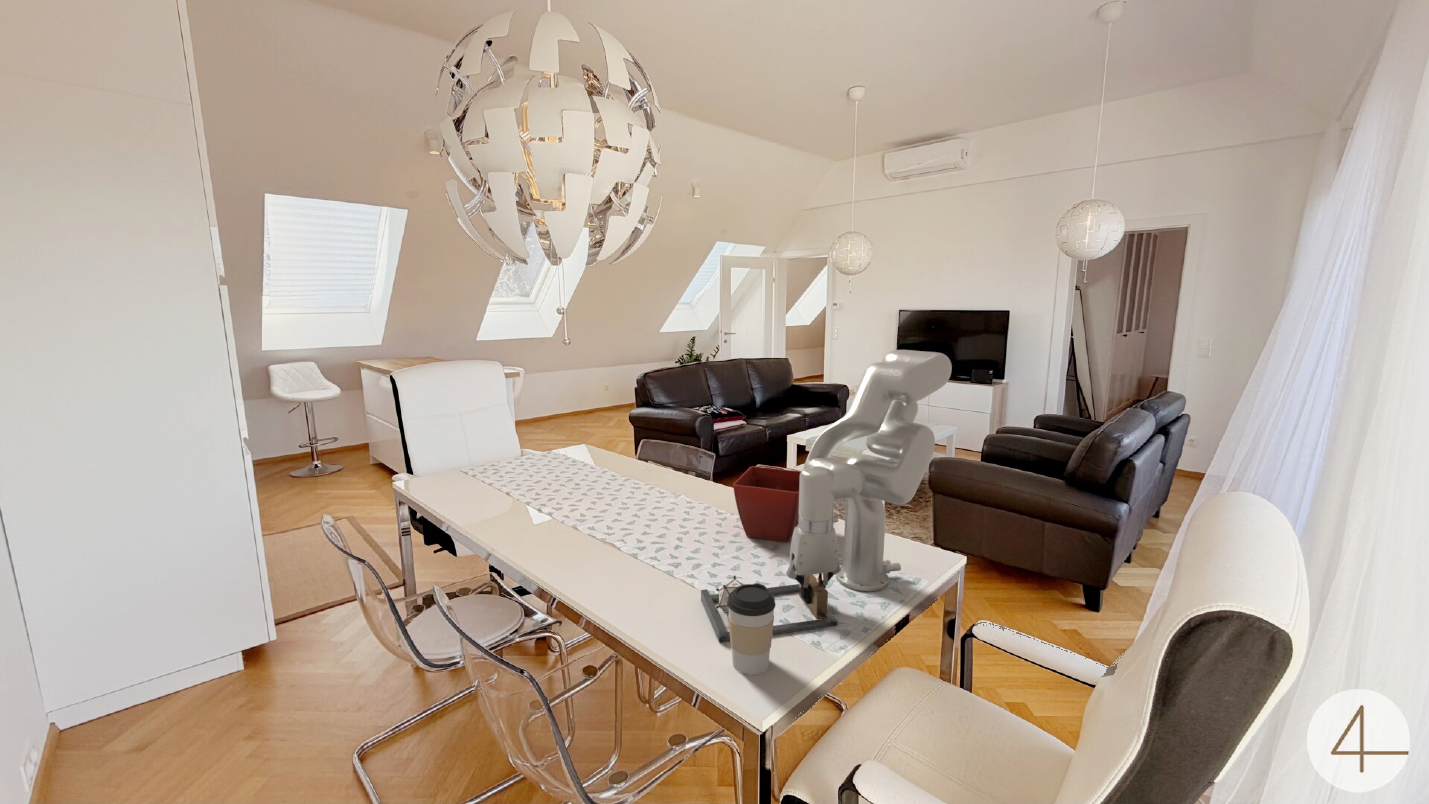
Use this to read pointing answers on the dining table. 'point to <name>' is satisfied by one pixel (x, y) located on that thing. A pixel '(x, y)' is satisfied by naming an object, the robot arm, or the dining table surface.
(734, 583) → the game die
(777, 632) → the frame
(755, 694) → the dining table surface
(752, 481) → the plant pot
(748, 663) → the coffee cup
